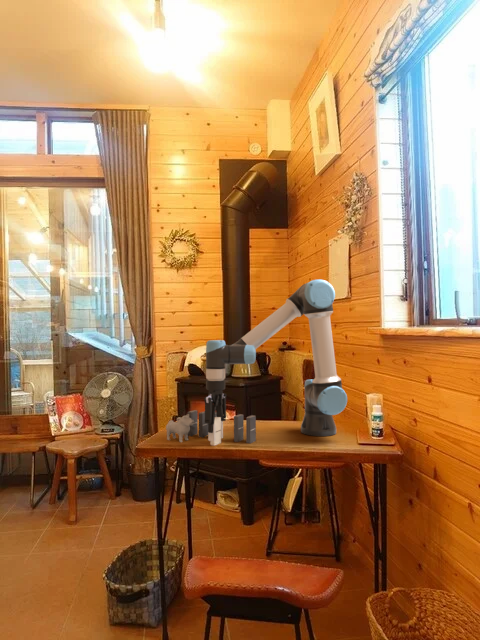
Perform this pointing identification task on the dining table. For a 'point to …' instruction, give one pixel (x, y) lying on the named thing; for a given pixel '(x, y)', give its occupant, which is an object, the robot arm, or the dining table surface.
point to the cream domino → (217, 431)
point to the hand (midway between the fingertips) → (215, 439)
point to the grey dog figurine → (179, 427)
